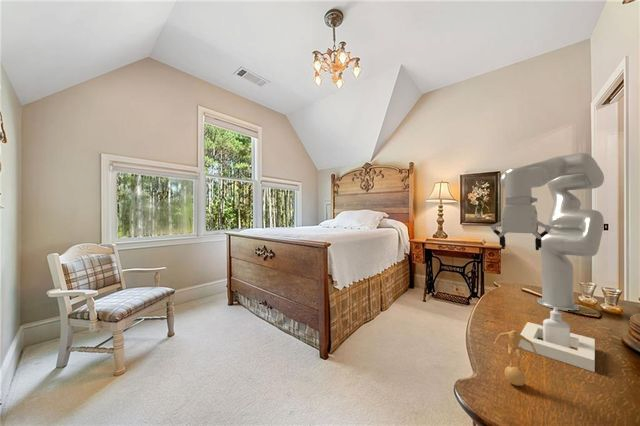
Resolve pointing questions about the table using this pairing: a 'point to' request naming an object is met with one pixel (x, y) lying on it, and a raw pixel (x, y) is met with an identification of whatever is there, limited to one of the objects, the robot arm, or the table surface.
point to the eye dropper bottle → (556, 329)
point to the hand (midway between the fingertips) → (519, 248)
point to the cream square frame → (561, 347)
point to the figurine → (512, 372)
